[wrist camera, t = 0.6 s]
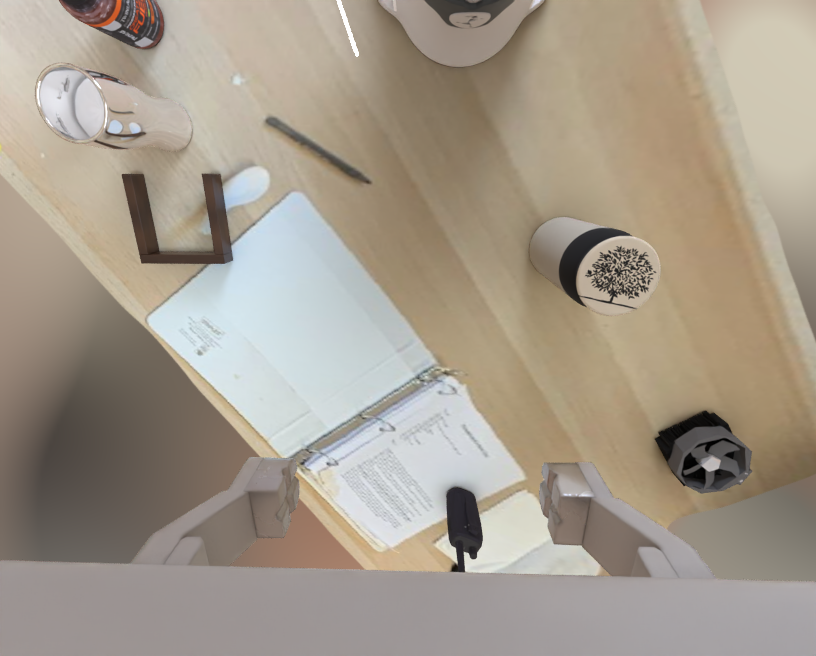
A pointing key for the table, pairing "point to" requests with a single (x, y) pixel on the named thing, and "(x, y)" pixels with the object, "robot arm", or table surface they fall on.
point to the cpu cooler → (705, 454)
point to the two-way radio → (463, 524)
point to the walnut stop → (146, 230)
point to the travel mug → (596, 264)
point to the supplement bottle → (121, 19)
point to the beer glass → (108, 111)
